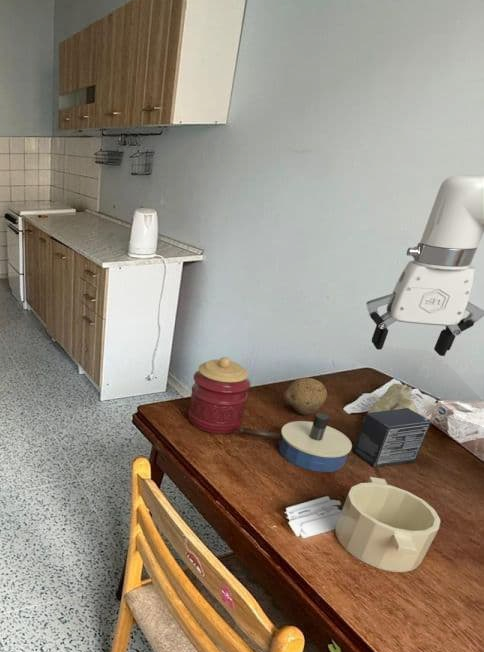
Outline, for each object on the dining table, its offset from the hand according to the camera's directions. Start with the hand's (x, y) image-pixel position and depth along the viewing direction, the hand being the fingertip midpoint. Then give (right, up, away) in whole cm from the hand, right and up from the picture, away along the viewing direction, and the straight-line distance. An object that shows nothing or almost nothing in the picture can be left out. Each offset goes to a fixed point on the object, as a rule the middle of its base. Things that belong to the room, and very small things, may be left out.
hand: (407, 350), depth 87 cm
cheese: (+18, -15, +31) cm, 39 cm away
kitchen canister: (-24, -15, +33) cm, 43 cm away
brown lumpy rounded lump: (0, -14, +35) cm, 38 cm away
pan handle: (-17, -18, +22) cm, 33 cm away
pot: (-9, -35, -4) cm, 36 cm away
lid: (-7, -18, +17) cm, 26 cm away
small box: (+9, -22, +18) cm, 30 cm away
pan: (-7, -22, +19) cm, 30 cm away
